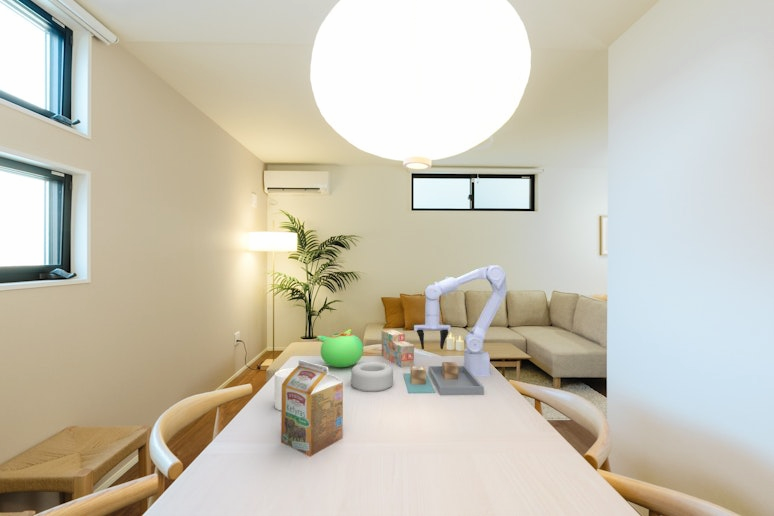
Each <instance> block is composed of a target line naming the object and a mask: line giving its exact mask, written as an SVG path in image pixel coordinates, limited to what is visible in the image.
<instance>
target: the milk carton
mask: <svg viewBox="0 0 774 516" xmlns="http://www.w3.org/2000/svg"><path fill="white" fill-rule="evenodd" d="M294 368H295V367H294ZM343 408H344V382H343V380H342V379H341V378H339V377H337V376H336V375H333V374H331V373H329V367H328V366H324V365H321V364H318V363H317V364H316V363H313V362H310V361H309V362H308V361H305V360H302V359H299V360H298V365H297V366H296V368H295V369H294V370H293V371H292V372H291V373H290V375H289V376H288V377H287V378H286V379H285V381H284V382H283V384H282V410H281V411H280V412H281V415H280V417H281V422H280V425H281V426H280V427H281V429H280V431H281V436H280V437H281V438H280V443H282V444H284V445H286V446H287V447H290V448H292V449H294V450H295V451H298V452H300V453H301V454H304V455H306V456H308V457H312V456H314V455H315V454H316V455H317V453H319V452H321V451H323V450H325V449H326V448H328V447H330V446H331V445H333V444H335V443H337V442H339V441H340V440H342V439H343V435H344V434H343V432H344V430H343V429H344V427H343V426H344V425H343V421H344V419H343V418H344V409H343Z"/></svg>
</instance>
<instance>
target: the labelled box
mask: <svg viewBox="0 0 774 516" xmlns="http://www.w3.org/2000/svg"><path fill="white" fill-rule="evenodd" d="M409 367H410V368H409V369H410V371H409V373H410V380H411V383H412V385H424V384H426V374H427V370H426V368H425V366H424V365H417V366H416V365H414V366H409Z"/></svg>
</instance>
